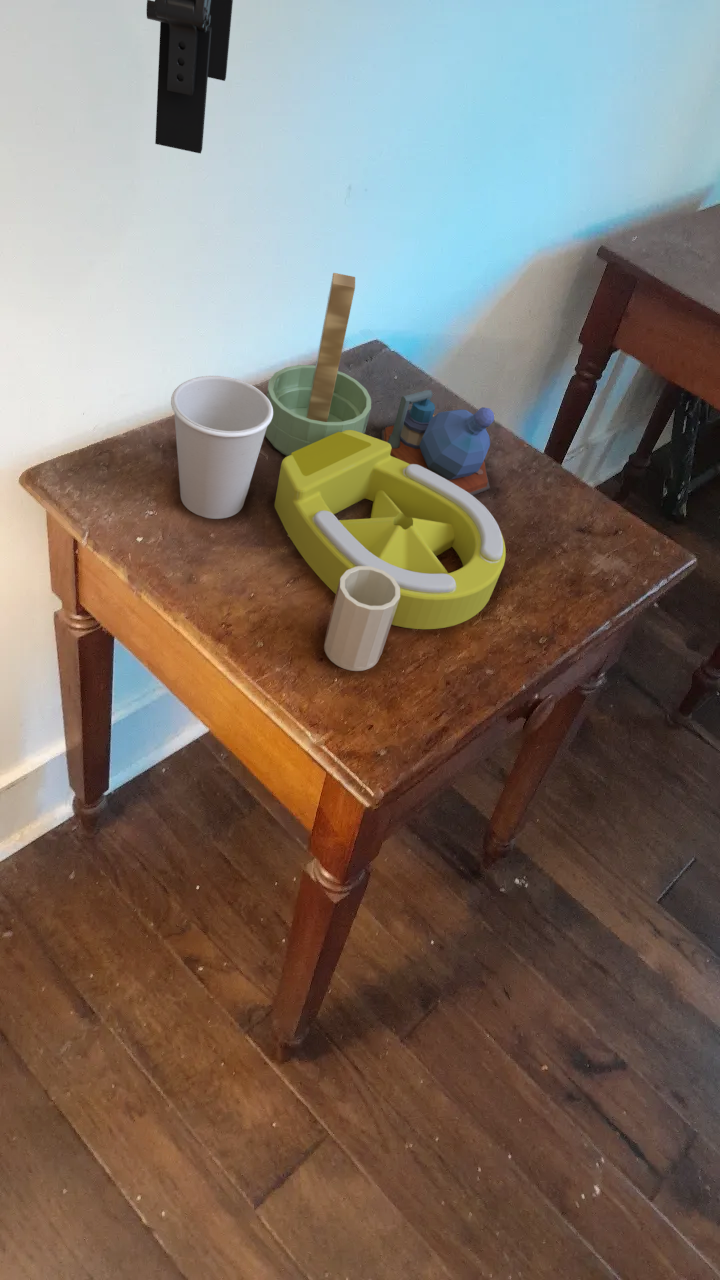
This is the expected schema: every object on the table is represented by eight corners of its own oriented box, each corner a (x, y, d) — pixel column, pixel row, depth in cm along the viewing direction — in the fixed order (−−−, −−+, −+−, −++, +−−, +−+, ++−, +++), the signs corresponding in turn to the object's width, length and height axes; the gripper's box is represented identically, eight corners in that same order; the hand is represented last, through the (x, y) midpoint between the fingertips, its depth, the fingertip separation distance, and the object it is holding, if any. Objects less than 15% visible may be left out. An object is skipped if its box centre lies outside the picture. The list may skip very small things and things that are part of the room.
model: (505, 484, 95) (535, 406, 89) (437, 508, 90) (464, 427, 84) (429, 418, 101) (453, 340, 94) (362, 437, 96) (382, 356, 89)
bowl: (257, 458, 90) (264, 413, 86) (265, 400, 97) (272, 356, 93) (360, 475, 91) (371, 432, 88) (361, 417, 98) (371, 375, 95)
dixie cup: (268, 483, 88) (283, 390, 81) (245, 539, 82) (259, 444, 75) (181, 459, 88) (188, 364, 80) (152, 513, 82) (157, 416, 75)
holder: (322, 667, 74) (339, 604, 69) (324, 624, 77) (340, 561, 72) (380, 675, 74) (400, 613, 69) (380, 632, 77) (399, 570, 72)
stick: (303, 435, 93) (332, 282, 81) (304, 424, 94) (333, 272, 83) (323, 439, 93) (355, 287, 82) (324, 427, 95) (355, 276, 83)
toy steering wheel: (365, 457, 94) (375, 414, 90) (528, 577, 86) (547, 536, 82) (241, 517, 84) (247, 472, 80) (413, 658, 76) (429, 616, 73)
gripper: (285, -329, 38) (231, 197, 53) (311, -339, 55) (265, 62, 71) (96, -384, 37) (96, 169, 52) (183, -376, 54) (164, 39, 70)
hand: (193, 108), depth 62 cm, fingers open, 13 cm apart
